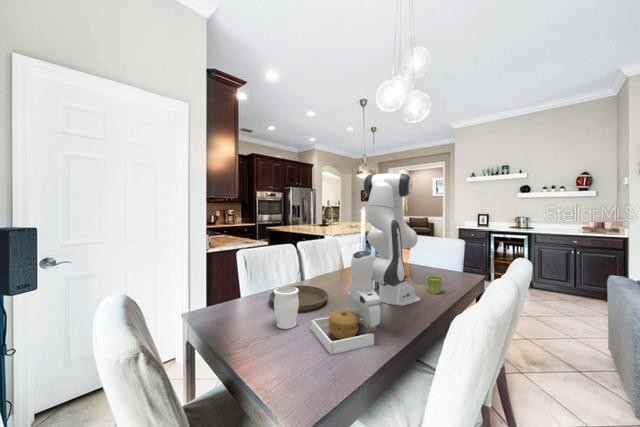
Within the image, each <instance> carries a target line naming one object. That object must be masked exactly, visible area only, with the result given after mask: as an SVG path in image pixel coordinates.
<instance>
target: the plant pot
mask: <svg viewBox="0 0 640 427" xmlns="http://www.w3.org/2000/svg"><path fill="white" fill-rule="evenodd" d="M425 279H426V282H427V286H428V292H429V293H430V294H433V295H438V294H441V292H442V285H443V281H444V278H443V277H441V276H437V275H427V276H426V277H425Z"/></svg>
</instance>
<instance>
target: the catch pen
mask: <svg viewBox="0 0 640 427" xmlns="http://www.w3.org/2000/svg"><path fill="white" fill-rule="evenodd" d="M329 317H330V316H328V317H321V318H316V319H311V320H310V322H311V323H310V330H311V331H312V333H313V334H314V336H315V337H316V338H317V339H318V341H319V342H320V343H321V345H322V346H323V347H324V348H325V350H326V351H327V352H328V353H329V354H330V355H337V354H340V353H341V354H342V353H345V352H348V351H352V350H357V349H362V348H367V347H371V346H374V345H375V334H374V332H371V333H368V334H366V335H361V336H360V335H357V336H356V335H355V336H354V337H351V338H346V339H337V340H331V339H330V338H329V337H328V335H327V334H326V333H325V332H324V331H323V330H324V329H327V328H328V329H329V324H330V322H329Z"/></svg>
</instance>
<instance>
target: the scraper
mask: <svg viewBox="0 0 640 427" xmlns="http://www.w3.org/2000/svg"><path fill="white" fill-rule="evenodd" d="M363 323H364V322H363V319H361V320H359V323H358V325H359V330H358V332H357V334H358V336H361V335H366V334H370V333H375V332H376V325H375V326H371V325H369V324H368V328H367V327H366V326H365V325H363ZM357 334H356V335H357Z"/></svg>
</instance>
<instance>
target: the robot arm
mask: <svg viewBox="0 0 640 427" xmlns="http://www.w3.org/2000/svg"><path fill="white" fill-rule="evenodd" d="M412 189H413V181H412V178H411V176H410V175H409V174H406V173H394V172H393V173H392V172H387V173H377V174H376V173H372V174H368V175H367V176H366V177H365V178H364V180H363V191H364V193H365V194H366V195H367V196H368V201H367V207H366V208H367V209H366V219H367V221H368V223H369V224H370V226H372V227H373V228H371V229H370V230H369V231H368V233H367V238H366V239H367V242H368V244H369V245H370V246H371V247H372V248H373V249H374V250H375V251H376V253H377V254H378V257H376V256H373V254H372V252H371V251H367V250H361V251H357V252H354V253H353V254H352V257H351V262H350V277H351V281H350V287H349V289H348V292H347V294H346V308H347V310H349V311H352V312H353V313H355V314H356V315H357V316H358V318H359V320H363V322H364V323H363V325H365V326H366V327H367V328H368V324H369V325H371V326H375V327H376V326H378V325H379V324H380V323H381V306H380V304H381V303H383V304H388V305H393V306H394V305H395V306H400V307H403V306H407V305H410V304H414V303H417V302H420V301H421V298H420V297H419V296H417V295H416V291H415V290H416V289H415V287H413V286H412V285H411V284H410V283H408V282H407V281H406V280H409V277H410V276H409V275H407V274H406V272H405V265H404V260H403V250H405V249H412V248H414V247H415V246H416V245H417V243H418V238H419V237H418V234H417V232H416V231H415V230H414V229H413V228H411V227H410V226H409V225H408V224H407V222H406V220H405V218H404V209H403V208H404V206H403V203H404V202H403V198H404V197H407V196H409V195H410V193H411V191H412ZM373 281H374V282H377V283H380V287H379V294H377V292H376V290H375V289H374V284H373Z"/></svg>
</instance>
